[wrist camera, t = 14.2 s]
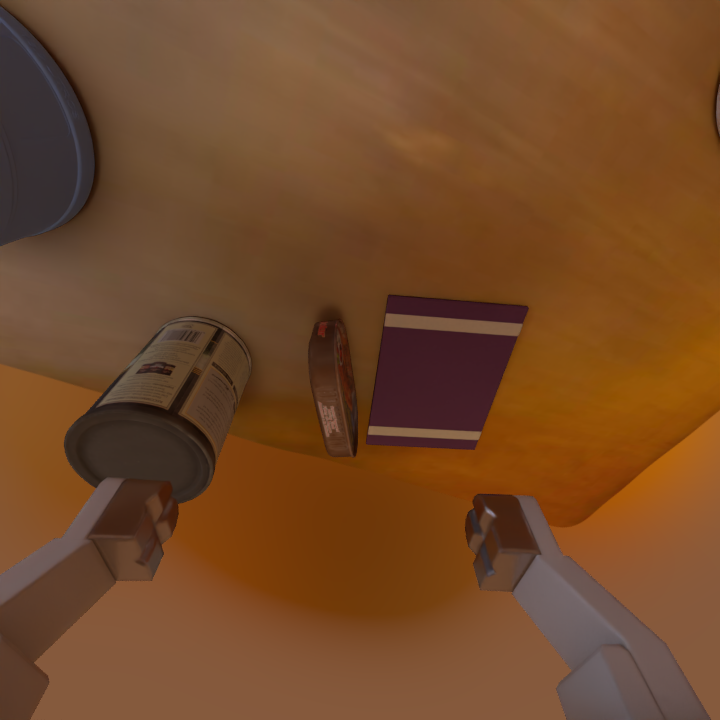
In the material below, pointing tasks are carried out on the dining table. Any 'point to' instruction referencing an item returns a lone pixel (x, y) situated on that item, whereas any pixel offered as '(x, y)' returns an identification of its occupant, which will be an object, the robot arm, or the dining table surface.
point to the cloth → (440, 370)
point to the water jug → (38, 139)
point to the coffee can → (165, 410)
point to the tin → (334, 388)
